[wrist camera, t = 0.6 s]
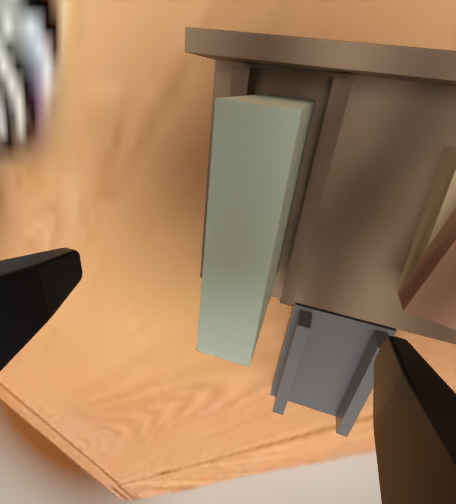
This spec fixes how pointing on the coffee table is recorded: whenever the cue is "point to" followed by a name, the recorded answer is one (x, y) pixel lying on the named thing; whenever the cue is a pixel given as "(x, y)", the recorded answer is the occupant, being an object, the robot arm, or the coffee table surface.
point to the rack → (348, 161)
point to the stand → (328, 363)
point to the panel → (248, 215)
